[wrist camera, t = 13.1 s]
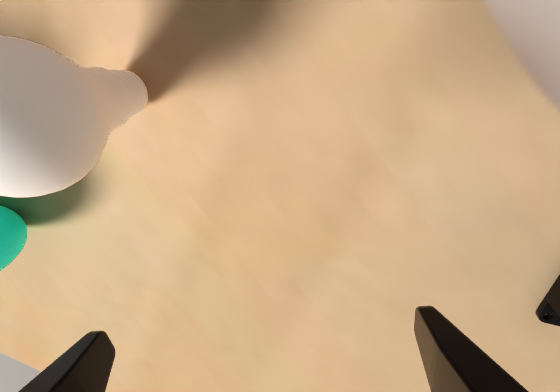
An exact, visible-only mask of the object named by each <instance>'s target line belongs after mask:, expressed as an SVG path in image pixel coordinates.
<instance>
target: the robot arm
mask: <svg viewBox="0 0 560 392" xmlns="http://www.w3.org/2000/svg"><path fill="white" fill-rule="evenodd" d="M545 314H547V315H545ZM536 315H537V317H538V318H539V320H540V321H542V322H544V323H548V324H553V325H557V326H560V275H559V277H558V278H557V280H556V281H555V283H554V284H553V286H552V287H551V289H550V290H549V292H548V293H547V295H546V296H545V298H544V299H543V301H542V302H541V304H540V305H539V307H538V308H537V310H536ZM414 331H415V336H416V340H417V343H418V347H419V350H420V354H421V357H422V361H423V364H424V368H425V371H426V375H427V379H428V382H429V385H430V389H431V392H528V391H527V390H526V389H525V388H524V387H523V386H522V385H520V384H519V383H518V382H517V381H516V380H515V379H514V378H513V377H511V376H510V375H509V374H508V373H507V372H506V371H505V370H504V369H502V368H501V367H500V366H499V365H498V364H497V363H496V362H495V361H494V360H492V359H491V358H490V357H489V356H488V355H487V354H486V353H485V352H483V351H482V350H481V349H480V348H479V347H478V346H477V345H476V344H474V343H473V342H472V341H471V340H470V339H469V338H468V337H467V336H466V335H464V334H463V333H462V332H461V331H460V330H459V329H458V328H457V327H455V326H454V325H453V324H452V323H451V322H450V321H449V320H448V319H446V318H445V317H444V316H443V315H442V314H441V313H440V312H439V311H438V310H436V309H435V308H434V307H432V306H419V307H417V308H416V311H415V323H414ZM114 358H115V348H114V346H113V344H112V342H111V341H110V339H109V337H108V335H107V334H106V332H104V331H92V332H89V333H87V334H86V335H85V336H84V337H82V338H81V339H80V340H79V341H78V342H77V343H75V344H74V345H73V346H72V347H71V348H69V349H68V350H67V351H66V352H65V353H64V354H62V355H61V356H60V357H59V358H58V359H56V360H55V361H54V362H53V363H52V364H51V365H49V366H48V367H47V368H46V369H45V370H43V371H42V372H41V373H40V374H39V375H38V376H36V377H35V378H34V379H33V380H32V381H30V382H29V383H28V384H27V385H26V386H25V387H23V388H22V389H21V390H20V391H19V392H105V390H106V386H107V383H108V379H109V376H110V372H111V368H112V365H113V361H114Z"/></svg>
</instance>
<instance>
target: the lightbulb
mask: <svg viewBox="0 0 560 392" xmlns="http://www.w3.org/2000/svg"><path fill="white" fill-rule="evenodd" d="M147 102H148V92H147V88H146V86H145V84H144V82H143V81H142V80H141V78H140V77H139V76H137V75H136V74H135V73H133V72H131V71H128V70H107V69H104V68H100V67H81V66H79V65H77V64H76V63H74V62H73V61H71V60H69V59H68V58H66V57H64V56H62V55H61V54H59V53H57V52H55V51H53V50H51V49H49V48H48V47H46V46H44V45H41V44H38V43H35V42H32V41H29V40H25V39H21V38H17V37H12V36H3V35H0V196H7V197H15V198H20V197H36V196H42V195H46V194H50V193H54V192H57V191H61V190H63V189H65V188H67V187H69V186H71V185H73V184H74V183H76V182H78V181H80V180H81V179H82V178H83V177H84V176H85V175H86V174H87V173H88V172H89V171H90V170H91V169H92V168H93V167H94V166H95V165H96V164H97V162H98V160H99V158H100V156H101V154H102V152H103V150H104V148H105V145H106V143H107V140H108V136H109V134H110V133H111V132H112V131H113V130H115V129H116V128H118V127H120V126H122V125H123V124H125V123H126V122H127V120H128V119H129V118H130V117H132V116H134V115H136V114H138V113H140V112H141V111H143V110H144V109H145V107H146V105H147Z"/></svg>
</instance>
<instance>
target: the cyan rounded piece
mask: <svg viewBox="0 0 560 392" xmlns="http://www.w3.org/2000/svg"><path fill="white" fill-rule="evenodd" d="M26 239H27V228H26V225H25V222H24V221H23V219H22V218H21V217H20V216H19V215H18V214H17V213H15V212H14V211H12V210H10V209H8V208H6V207H4V206H0V271H1V270H2V269H3V268H5V267H6V266H7V265H8V264H9V263H11V262H12V261H13V260H14V259H15V258H16V256H17V255H18V254H19V253H20V251H21V250H22V249H23V247H24V245H25V242H26Z"/></svg>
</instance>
